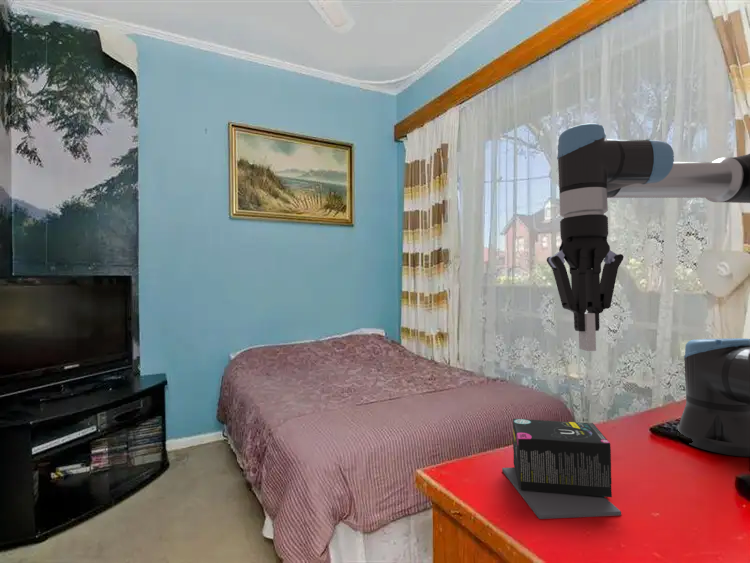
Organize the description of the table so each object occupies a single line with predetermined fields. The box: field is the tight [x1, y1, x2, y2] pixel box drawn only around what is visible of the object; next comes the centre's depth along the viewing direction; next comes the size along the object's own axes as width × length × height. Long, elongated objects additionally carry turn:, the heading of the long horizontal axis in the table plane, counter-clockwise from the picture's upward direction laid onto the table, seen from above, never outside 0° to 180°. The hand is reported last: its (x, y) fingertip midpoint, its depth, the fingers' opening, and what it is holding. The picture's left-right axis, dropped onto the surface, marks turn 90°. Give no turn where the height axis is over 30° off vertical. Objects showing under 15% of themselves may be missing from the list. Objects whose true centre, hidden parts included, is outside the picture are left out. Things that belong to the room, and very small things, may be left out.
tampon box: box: [512, 418, 613, 498], centre depth 73 cm, size 11×9×15 cm
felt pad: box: [501, 466, 622, 520], centre depth 71 cm, size 13×16×1 cm
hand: (587, 349), depth 72 cm, fingers closed
